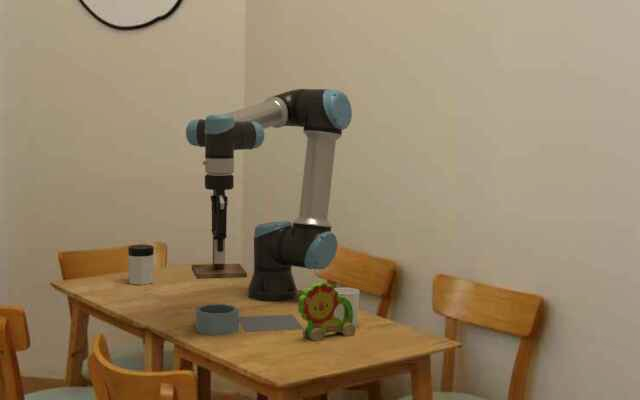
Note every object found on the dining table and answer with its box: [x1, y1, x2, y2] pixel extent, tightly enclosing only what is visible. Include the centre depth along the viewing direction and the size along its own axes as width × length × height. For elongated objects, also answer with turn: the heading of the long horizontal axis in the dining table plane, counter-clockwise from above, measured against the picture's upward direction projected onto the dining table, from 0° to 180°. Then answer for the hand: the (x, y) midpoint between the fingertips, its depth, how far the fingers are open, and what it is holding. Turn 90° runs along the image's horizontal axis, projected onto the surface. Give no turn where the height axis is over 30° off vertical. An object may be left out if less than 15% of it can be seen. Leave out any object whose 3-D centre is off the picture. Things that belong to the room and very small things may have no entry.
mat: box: [239, 314, 304, 333], centre depth 263 cm, size 16×16×1 cm
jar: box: [127, 244, 155, 284], centre depth 313 cm, size 9×8×12 cm
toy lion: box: [297, 281, 357, 342], centre depth 249 cm, size 16×5×15 cm, turn 122°
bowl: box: [195, 303, 240, 336], centre depth 255 cm, size 11×11×6 cm
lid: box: [191, 231, 248, 280], centre depth 253 cm, size 13×13×11 cm
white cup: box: [334, 287, 361, 328], centre depth 262 cm, size 8×8×10 cm
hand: (218, 261), depth 253 cm, fingers closed on lid, 3 cm apart
